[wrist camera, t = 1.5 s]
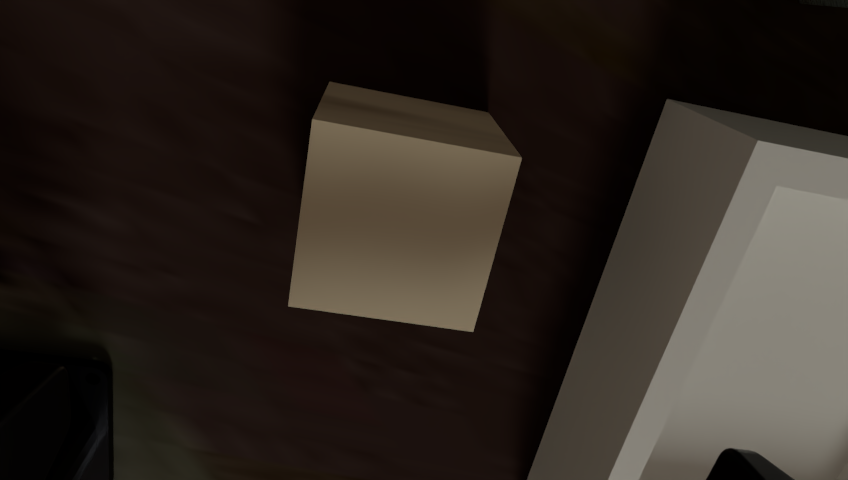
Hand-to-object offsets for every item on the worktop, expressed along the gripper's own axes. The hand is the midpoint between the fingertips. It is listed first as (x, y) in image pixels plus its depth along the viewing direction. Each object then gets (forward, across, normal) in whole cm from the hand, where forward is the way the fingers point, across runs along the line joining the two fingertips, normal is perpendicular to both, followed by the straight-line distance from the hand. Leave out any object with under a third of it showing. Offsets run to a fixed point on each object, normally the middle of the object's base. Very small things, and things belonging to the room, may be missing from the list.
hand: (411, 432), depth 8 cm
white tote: (+12, -15, +6) cm, 20 cm away
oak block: (+12, 0, +1) cm, 12 cm away
